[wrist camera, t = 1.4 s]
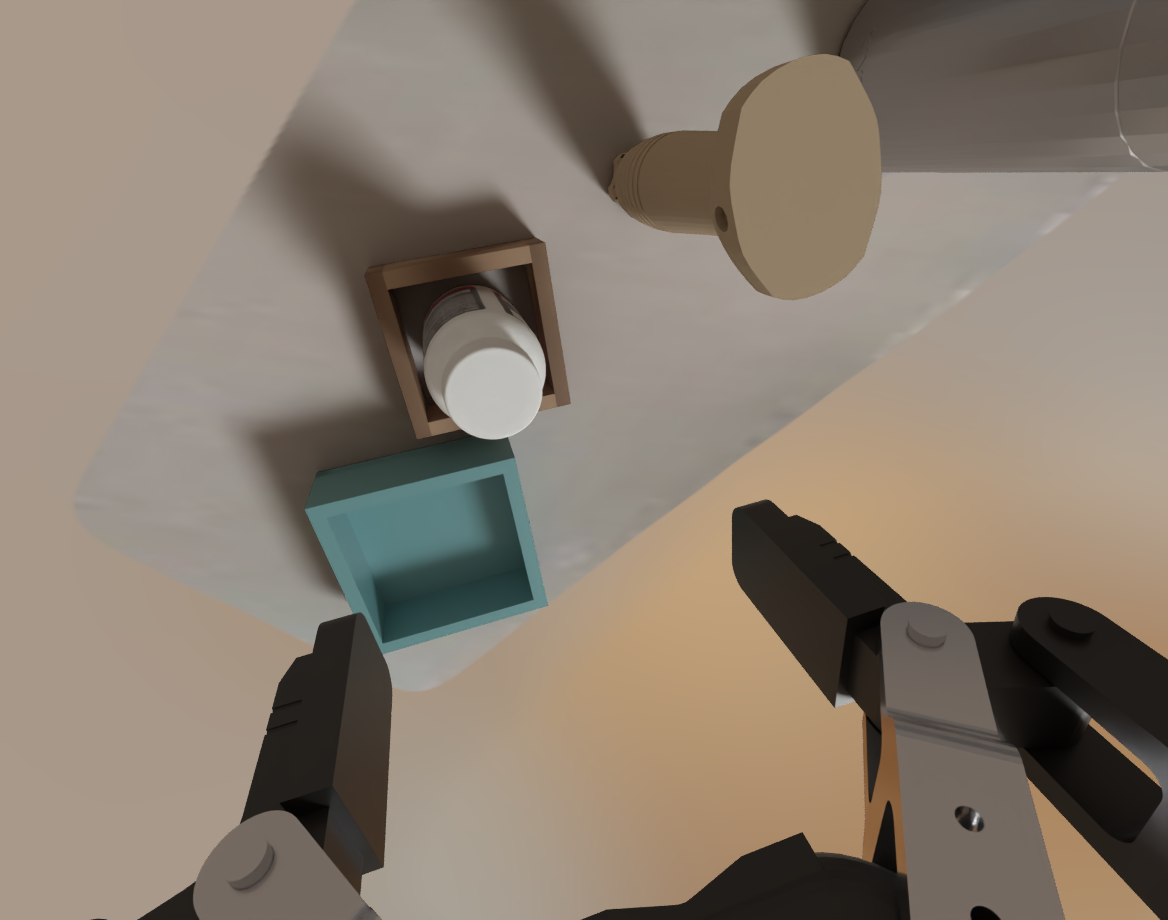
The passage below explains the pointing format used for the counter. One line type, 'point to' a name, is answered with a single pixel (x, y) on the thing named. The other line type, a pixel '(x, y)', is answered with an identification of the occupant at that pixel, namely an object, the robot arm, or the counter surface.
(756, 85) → the handle
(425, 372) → the pill bottle
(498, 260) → the brown open box
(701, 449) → the counter surface
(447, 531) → the tray
